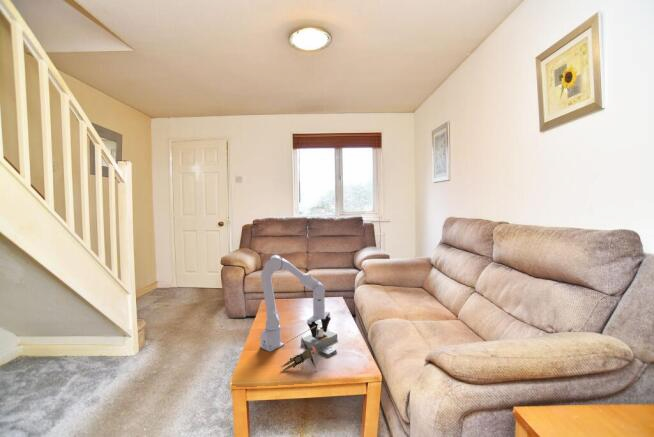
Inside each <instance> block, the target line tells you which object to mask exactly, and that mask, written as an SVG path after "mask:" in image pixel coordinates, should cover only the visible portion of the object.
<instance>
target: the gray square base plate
mask: <svg viewBox="0 0 654 437" xmlns="http://www.w3.org/2000/svg"><path fill="white" fill-rule="evenodd" d="M317 352H318V353H317V354H318V355H321V356H323V357H326V358H330V357H333V355H335V354H337V352H338V349H336V348H334V347H331V346H328V345H326V346H325V347H323V348H321V349H319V350H317Z"/></svg>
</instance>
